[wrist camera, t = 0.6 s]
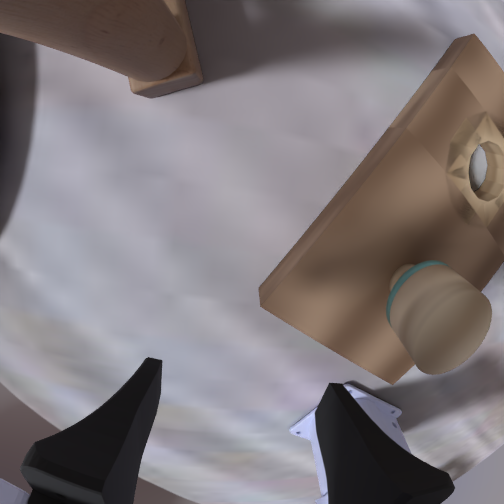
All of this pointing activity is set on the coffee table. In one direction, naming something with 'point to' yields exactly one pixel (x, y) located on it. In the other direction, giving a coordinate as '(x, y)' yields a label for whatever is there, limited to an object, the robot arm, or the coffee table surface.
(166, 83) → the wooden block
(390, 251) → the board
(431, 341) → the beige cylinder
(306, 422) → the robot arm
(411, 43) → the coffee table surface
